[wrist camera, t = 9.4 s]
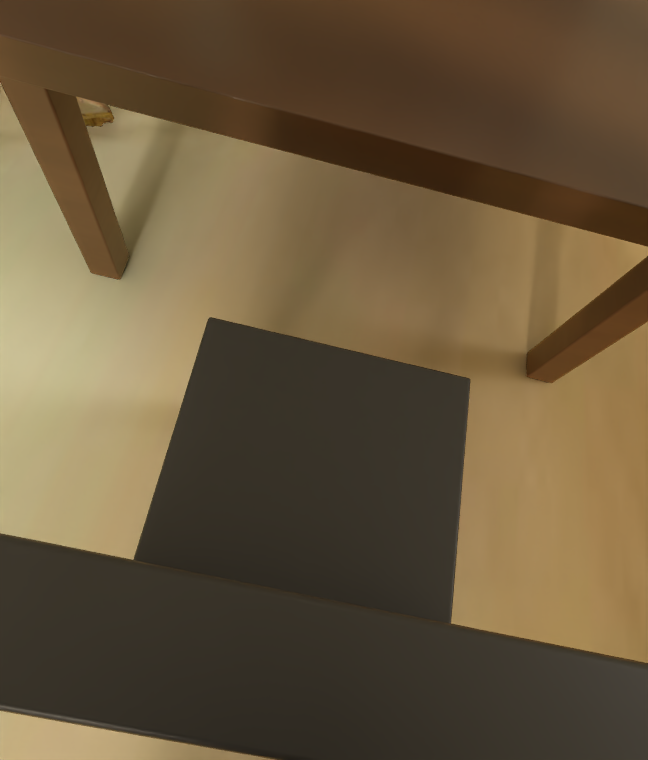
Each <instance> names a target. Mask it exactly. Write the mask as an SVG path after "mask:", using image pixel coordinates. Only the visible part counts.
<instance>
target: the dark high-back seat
mask: <svg viewBox="0 0 648 760" xmlns="http://www.w3.org/2000/svg"><path fill="white" fill-rule="evenodd" d="M469 391H470V379H469V378H466V377H461V376H457V375H453V374H449V373H444V372H440V371H436V370H432V369H427V368H423V367H419V366H415V365H411V364H406V363H402V362H398V361H394V360H389V359H385V358H381V357H377V356H372V355H368V354H364V353H360V352H356V351H351V350H347V349H343V348H339V347H334V346H330V345H326V344H322V343H317V342H313V341H309V340H305V339H301V338H296V337H292V336H288V335H284V334H279V333H275V332H271V331H267V330H262V329H258V328H254V327H250V326H246V325H241V324H237V323H233V322H229V321H224V320H220V319H216V318H212V317H210V318H209V319H208V321H207V324H206V328H205V331H204V334H203V337H202V340H201V344H200V347H199V350H198V353H197V357H196V360H195V363H194V366H193V369H192V373H191V376H190V379H189V382H188V385H187V389H186V392H185V395H184V398H183V402H182V405H181V408H180V411H179V414H178V418H177V421H176V424H175V427H174V431H173V434H172V437H171V440H170V443H169V447H168V450H167V453H166V456H165V459H164V463H163V466H162V469H161V472H160V476H159V479H158V482H157V485H156V488H155V492H154V495H153V498H152V501H151V505H150V508H149V511H148V514H147V517H146V521H145V524H144V527H143V530H142V533H141V537H140V540H139V543H138V546H137V550H136V553H135V556H134V559H133V560H131V559H126V558H121V557H116V556H111V555H106V554H101V553H96V552H91V551H86V550H81V549H76V548H71V547H66V546H61V545H56V544H51V543H46V542H41V541H36V540H31V539H26V538H21V537H16V536H11V535H6V534H1V533H0V711H4V712H10V713H16V714H21V715H27V716H33V717H38V718H44V719H49V720H55V721H61V722H66V723H72V724H78V725H83V726H89V727H95V728H100V729H106V730H112V731H117V732H123V733H129V734H134V735H140V736H146V737H151V738H157V739H163V740H168V741H174V742H179V743H185V744H191V745H196V746H202V747H208V748H213V749H219V750H225V751H230V752H236V753H242V754H247V755H253V756H259V757H264V758H270V759H276V760H648V663H644V662H639V661H634V660H629V659H624V658H619V657H614V656H609V655H604V654H599V653H594V652H589V651H584V650H579V649H574V648H569V647H564V646H559V645H554V644H549V643H544V642H539V641H534V640H529V639H524V638H519V637H514V636H509V635H504V634H499V633H494V632H489V631H484V630H479V629H474V628H469V627H465V626H460V625H455V624H451V616H452V603H453V591H454V578H455V566H456V554H457V541H458V529H459V516H460V504H461V491H462V479H463V466H464V454H465V441H466V429H467V416H468V404H469Z"/></svg>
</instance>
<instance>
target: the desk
mask: <svg viewBox="0 0 648 760" xmlns="http://www.w3.org/2000/svg"><path fill="white" fill-rule="evenodd" d="M0 82H1V84H2V86H3V88H4V90H5V93H6V95H7V97H8V99H9V101H10V103H11V105H12V107H13V109H14V112H15V114H16V116H17V118H18V120H19V122H20V124H21V126H22V128H23V130H24V133H25V135H26V137H27V139H28V141H29V143H30V145H31V147H32V149H33V152H34V154H35V156H36V158H37V160H38V162H39V164H40V166H41V168H42V171H43V173H44V175H45V177H46V179H47V181H48V183H49V185H50V187H51V189H52V192H53V194H54V196H55V198H56V200H57V202H58V204H59V206H60V208H61V211H62V213H63V215H64V217H65V219H66V221H67V223H68V225H69V227H70V230H71V232H72V234H73V236H74V238H75V240H76V242H77V244H78V246H79V248H80V251H81V253H82V255H83V257H84V259H85V261H86V263H87V265H88V267H89V270H90V272H91V273H93V274H98V275H102V276H106V277H110V278H114V279H121V276H122V274H123V271H124V269H125V266H126V264H127V261H128V259H129V254H128V251H127V248H126V245H125V242H124V239H123V236H122V233H121V230H120V227H119V224H118V221H117V218H116V215H115V212H114V209H113V206H112V203H111V200H110V197H109V194H108V191H107V188H106V185H105V182H104V179H103V176H102V173H101V170H100V167H99V164H98V161H97V158H96V155H95V152H94V149H93V146H92V143H91V140H90V137H89V134H88V131H87V128H86V125H85V122H84V119H83V116H82V113H81V110H80V107H79V104H78V101H77V98H76V97H80V98H84V99H87V100H91V101H95V102H99V103H103V104H107V105H110V106H114V107H118V108H122V109H126V110H129V111H133V112H137V113H141V114H145V115H148V116H152V117H156V118H160V119H164V120H168V121H171V122H175V123H179V124H183V125H187V126H190V127H194V128H198V129H202V130H206V131H209V132H213V133H217V134H221V135H225V136H229V137H232V138H236V139H240V140H244V141H248V142H251V143H255V144H259V145H263V146H267V147H270V148H274V149H278V150H282V151H286V152H290V153H293V154H297V155H301V156H305V157H309V158H312V159H316V160H320V161H324V162H328V163H331V164H335V165H339V166H343V167H347V168H351V169H354V170H358V171H362V172H366V173H370V174H373V175H377V176H381V177H385V178H389V179H392V180H396V181H400V182H404V183H408V184H412V185H415V186H419V187H423V188H427V189H431V190H434V191H438V192H442V193H446V194H450V195H453V196H457V197H461V198H465V199H469V200H473V201H476V202H480V203H484V204H488V205H492V206H495V207H499V208H503V209H507V210H511V211H515V212H518V213H522V214H526V215H530V216H534V217H537V218H541V219H545V220H549V221H553V222H556V223H560V224H564V225H568V226H572V227H576V228H579V229H583V230H587V231H591V232H595V233H598V234H602V235H606V236H610V237H614V238H617V239H621V240H625V241H629V242H633V243H637V244H640V245H644V246H648V0H0ZM646 322H648V256H647V257H646V258H645V259H644V260H642V261H641V262H640V263H639V264H637V265H636V266H635V267H634V268H632V269H631V270H630V271H629V272H627V273H626V274H625V275H624V276H622V277H621V278H620V279H619V280H617V281H616V282H615V283H614V284H612V285H611V286H610V287H609V288H607V289H606V290H605V291H604V292H602V293H601V294H600V295H599V296H597V297H596V298H595V299H594V300H592V301H591V302H590V303H589V304H588V305H586V306H585V307H584V308H583V309H581V310H580V311H579V312H578V313H576V314H575V315H574V316H573V317H571V318H570V319H569V320H568V321H566V322H565V323H564V324H563V325H561V326H560V327H559V328H558V329H556V330H555V331H554V332H553V333H551V334H550V335H549V336H548V337H546V338H545V339H544V340H543V341H541V342H540V343H539V344H538V345H536V346H535V347H534V348H533V349H531V350H530V351H529V352H528V353H527V375H526V376H527V377H529V378H533V379H537V380H541V381H546V382H550V383H553V382H554V381H556V380H557V379H559V378H561V377H562V376H564V375H565V374H567V373H568V372H570V371H571V370H573V369H575V368H576V367H578V366H579V365H581V364H582V363H584V362H585V361H587V360H589V359H590V358H592V357H593V356H595V355H596V354H598V353H599V352H601V351H603V350H604V349H606V348H607V347H609V346H610V345H612V344H613V343H615V342H617V341H618V340H620V339H621V338H623V337H624V336H626V335H627V334H629V333H631V332H632V331H634V330H635V329H637V328H638V327H640V326H641V325H643V324H644V323H646Z"/></svg>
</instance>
